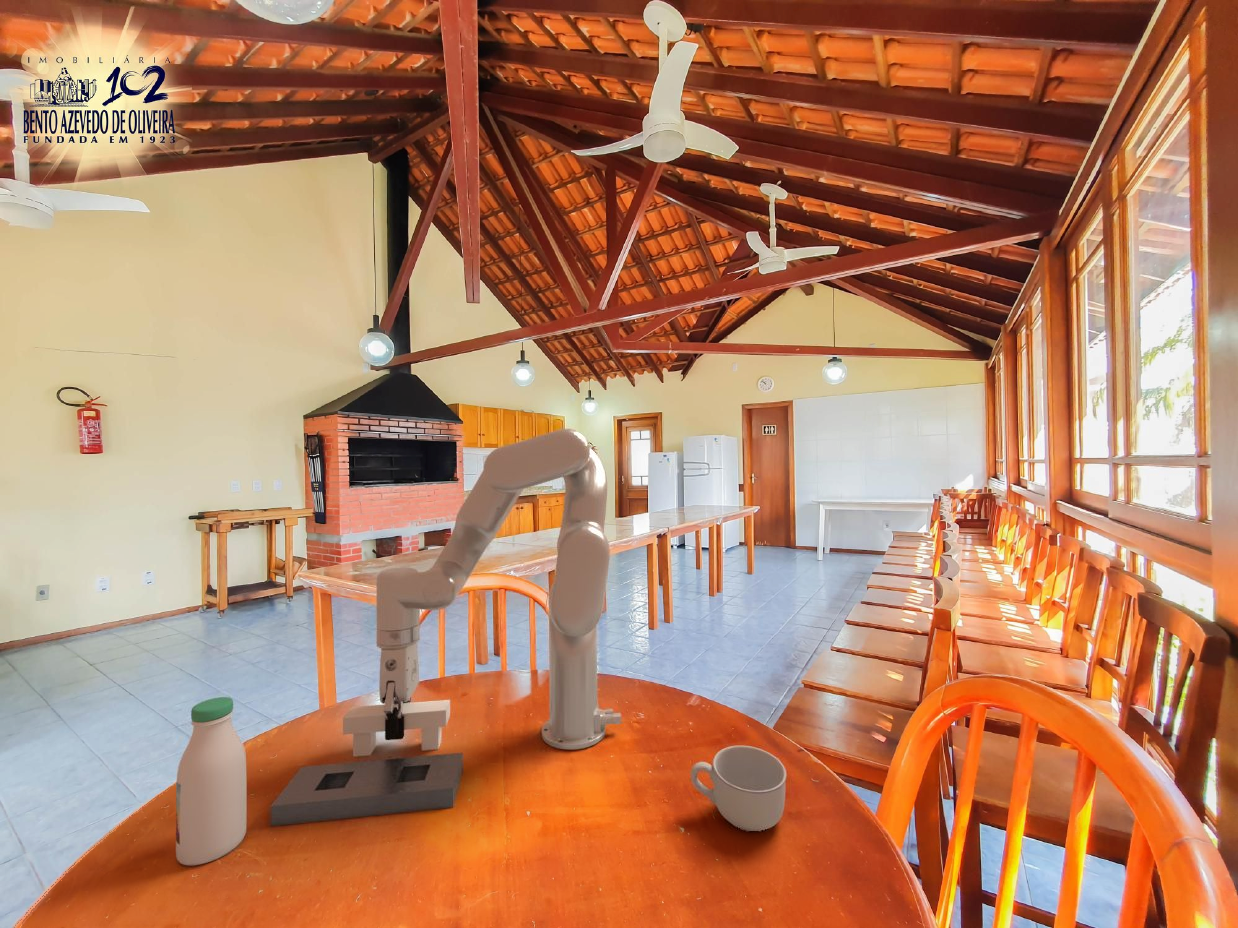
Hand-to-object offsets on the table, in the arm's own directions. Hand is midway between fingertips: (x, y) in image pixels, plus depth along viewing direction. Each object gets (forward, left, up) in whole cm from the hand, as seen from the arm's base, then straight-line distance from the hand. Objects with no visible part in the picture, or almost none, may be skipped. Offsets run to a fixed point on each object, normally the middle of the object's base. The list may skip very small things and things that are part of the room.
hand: (398, 730), depth 96 cm
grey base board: (0, +14, -3) cm, 14 cm away
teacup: (-56, +28, -4) cm, 63 cm away
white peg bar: (0, 0, -3) cm, 3 cm away
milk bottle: (+19, +22, -4) cm, 29 cm away
